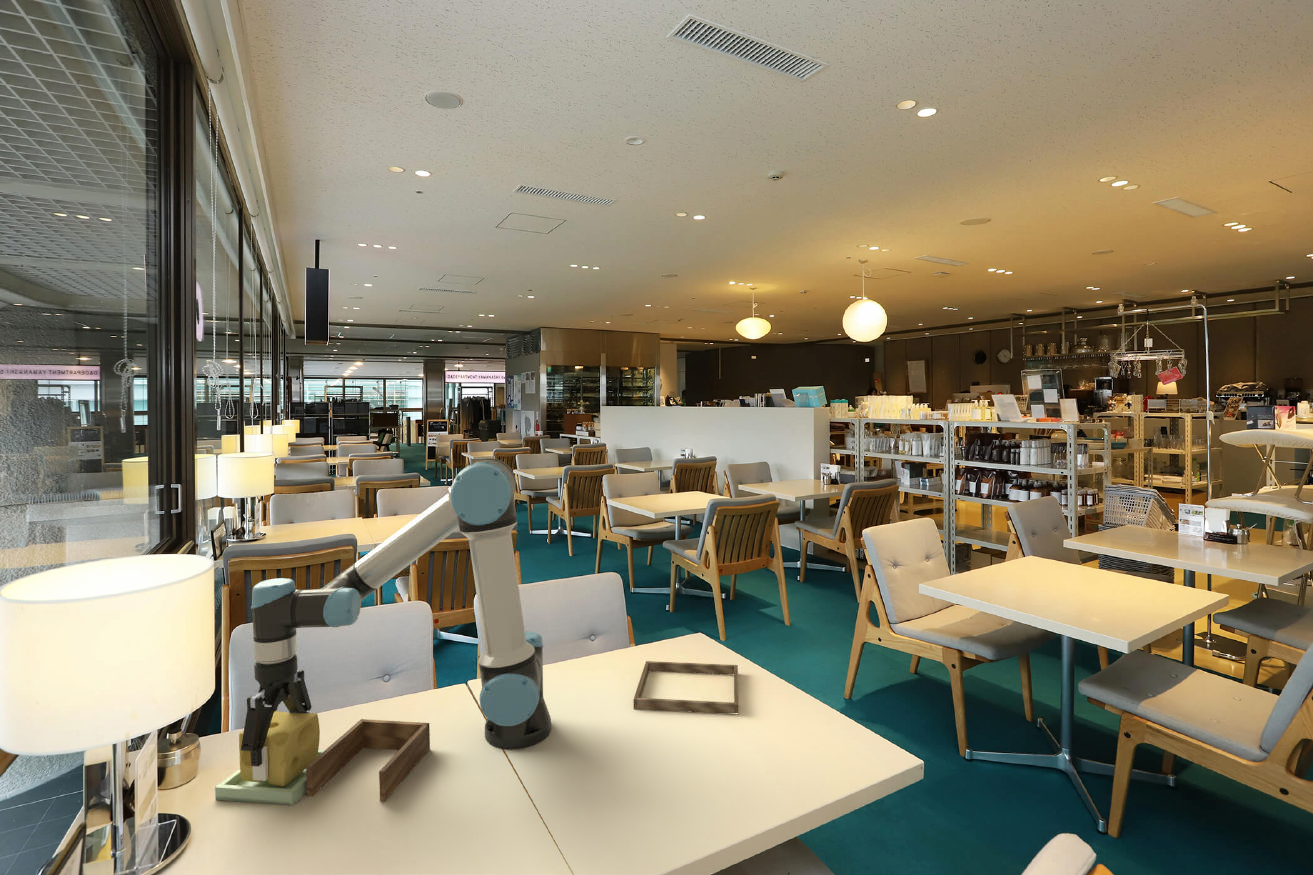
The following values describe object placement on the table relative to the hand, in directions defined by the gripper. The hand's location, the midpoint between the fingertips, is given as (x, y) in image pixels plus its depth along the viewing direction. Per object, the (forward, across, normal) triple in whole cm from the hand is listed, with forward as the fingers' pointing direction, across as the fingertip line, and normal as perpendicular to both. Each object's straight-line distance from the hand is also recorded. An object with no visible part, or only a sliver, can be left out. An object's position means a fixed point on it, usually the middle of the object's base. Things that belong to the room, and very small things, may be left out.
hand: (279, 763), depth 133 cm
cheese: (+2, 0, 0) cm, 2 cm away
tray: (+3, 0, 0) cm, 3 cm away
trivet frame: (+3, -50, +80) cm, 94 cm away
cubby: (+3, -5, +17) cm, 18 cm away
